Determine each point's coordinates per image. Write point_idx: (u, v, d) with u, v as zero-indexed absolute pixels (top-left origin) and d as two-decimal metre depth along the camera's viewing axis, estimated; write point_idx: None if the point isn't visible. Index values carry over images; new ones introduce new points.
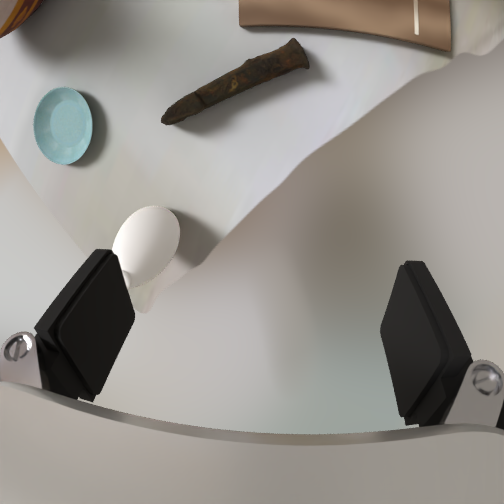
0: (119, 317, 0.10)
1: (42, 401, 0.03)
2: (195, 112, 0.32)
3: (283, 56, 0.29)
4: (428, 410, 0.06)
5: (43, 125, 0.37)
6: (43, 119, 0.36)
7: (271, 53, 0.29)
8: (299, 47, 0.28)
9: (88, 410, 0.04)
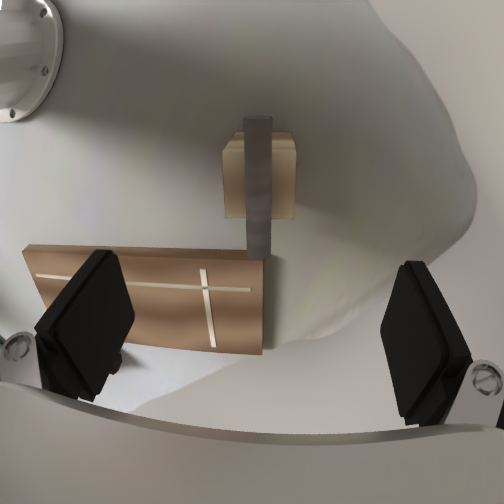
0: (119, 317, 0.10)
1: (42, 401, 0.03)
2: None
3: None
4: (428, 410, 0.06)
5: None
6: None
7: None
8: None
9: (88, 410, 0.04)
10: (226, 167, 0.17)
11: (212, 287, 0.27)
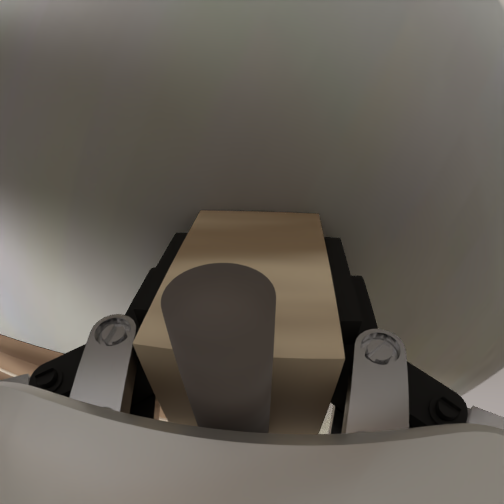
0: None
1: (42, 401, 0.03)
2: None
3: None
4: None
5: None
6: None
7: None
8: None
9: (88, 410, 0.04)
10: (153, 371, 0.06)
11: None
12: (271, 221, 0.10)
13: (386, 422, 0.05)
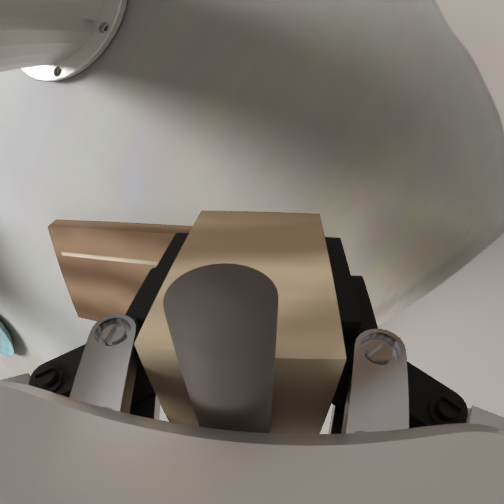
0: None
1: (42, 401, 0.03)
2: None
3: None
4: None
5: None
6: None
7: None
8: None
9: (88, 410, 0.04)
10: (154, 372, 0.06)
11: None
12: (272, 221, 0.10)
13: (386, 422, 0.05)
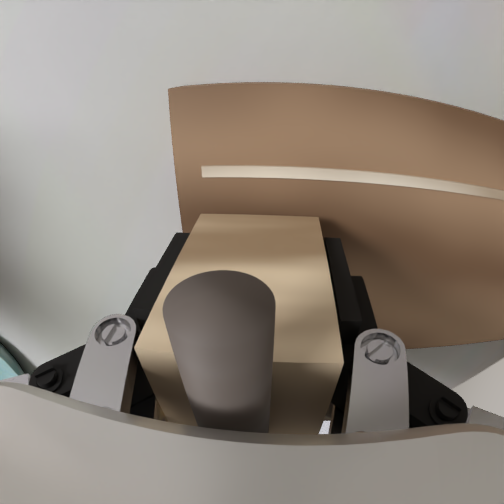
0: None
1: (42, 401, 0.03)
2: None
3: None
4: None
5: None
6: None
7: None
8: None
9: (88, 410, 0.04)
10: (155, 375, 0.06)
11: None
12: (272, 224, 0.10)
13: (386, 422, 0.05)
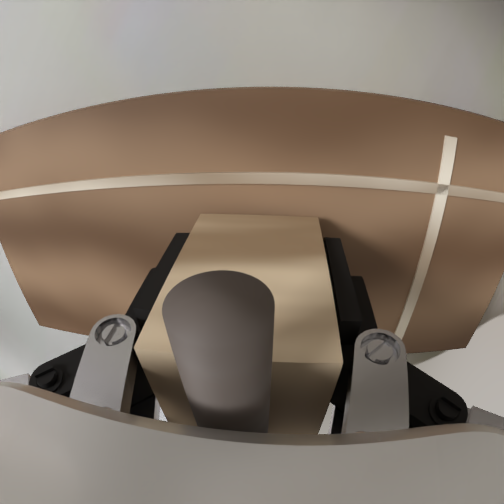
0: None
1: (42, 401, 0.03)
2: None
3: None
4: None
5: None
6: None
7: None
8: None
9: (88, 410, 0.04)
10: (154, 374, 0.06)
11: (455, 190, 0.10)
12: (271, 224, 0.10)
13: (386, 422, 0.05)
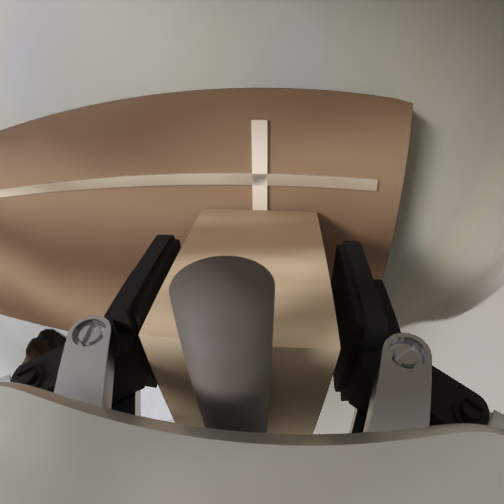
0: None
1: (42, 401, 0.03)
2: None
3: None
4: (354, 382, 0.07)
5: None
6: None
7: None
8: None
9: (88, 410, 0.04)
10: (157, 361, 0.06)
11: (279, 179, 0.10)
12: (271, 219, 0.10)
13: (417, 425, 0.04)
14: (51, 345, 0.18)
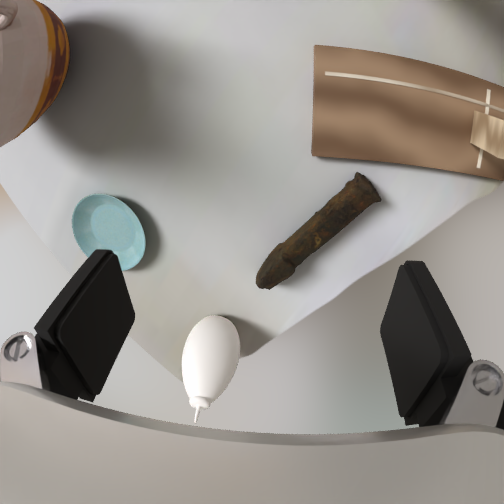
0: (119, 317, 0.10)
1: (42, 401, 0.03)
2: (290, 275, 0.37)
3: (356, 200, 0.32)
4: (428, 410, 0.06)
5: (83, 225, 0.40)
6: (82, 218, 0.39)
7: (343, 200, 0.32)
8: (369, 188, 0.31)
9: (88, 410, 0.04)
10: None
11: (491, 106, 0.25)
12: (492, 116, 0.25)
13: None
14: (366, 178, 0.32)
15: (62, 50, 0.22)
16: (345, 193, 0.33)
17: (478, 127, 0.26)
